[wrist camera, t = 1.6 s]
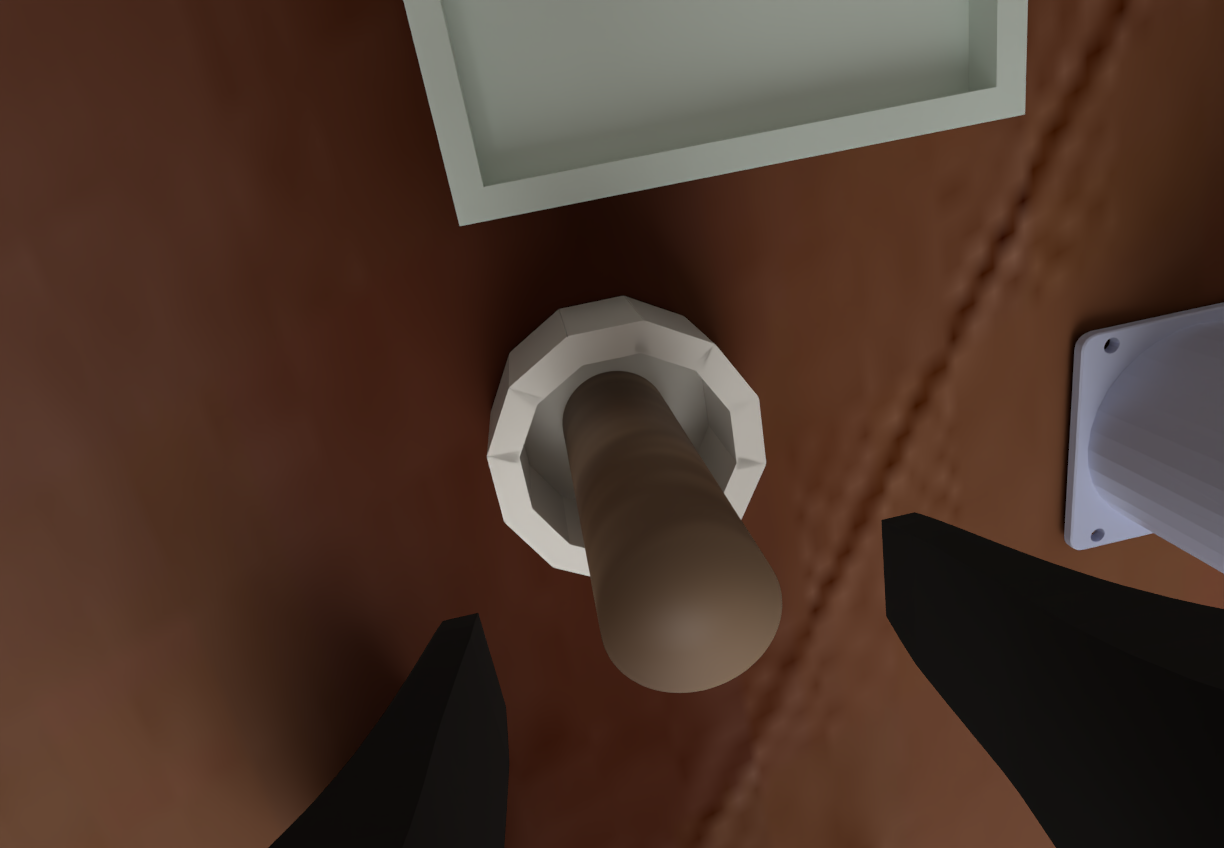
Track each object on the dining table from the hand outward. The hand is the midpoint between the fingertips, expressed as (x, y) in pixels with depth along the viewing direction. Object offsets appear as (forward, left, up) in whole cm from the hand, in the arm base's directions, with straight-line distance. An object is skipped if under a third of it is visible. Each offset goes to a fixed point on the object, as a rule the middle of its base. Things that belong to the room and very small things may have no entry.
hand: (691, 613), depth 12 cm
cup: (0, 0, -10) cm, 10 cm away
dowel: (0, 0, -10) cm, 10 cm away
